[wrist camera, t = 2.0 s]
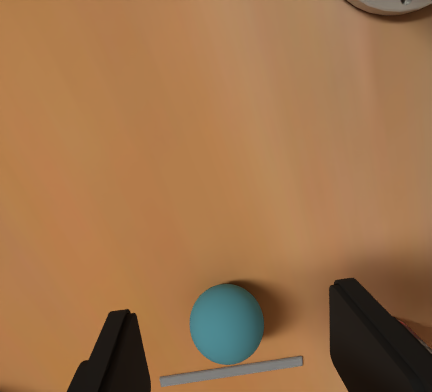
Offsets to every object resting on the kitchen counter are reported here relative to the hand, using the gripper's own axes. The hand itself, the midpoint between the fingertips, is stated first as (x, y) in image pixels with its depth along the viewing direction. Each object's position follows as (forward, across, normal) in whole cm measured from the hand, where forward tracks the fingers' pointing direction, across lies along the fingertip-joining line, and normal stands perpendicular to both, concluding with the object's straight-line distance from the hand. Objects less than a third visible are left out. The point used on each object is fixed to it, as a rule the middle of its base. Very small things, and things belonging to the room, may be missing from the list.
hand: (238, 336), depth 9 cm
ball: (+13, 0, +10) cm, 16 cm away
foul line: (+16, 0, +18) cm, 23 cm away
